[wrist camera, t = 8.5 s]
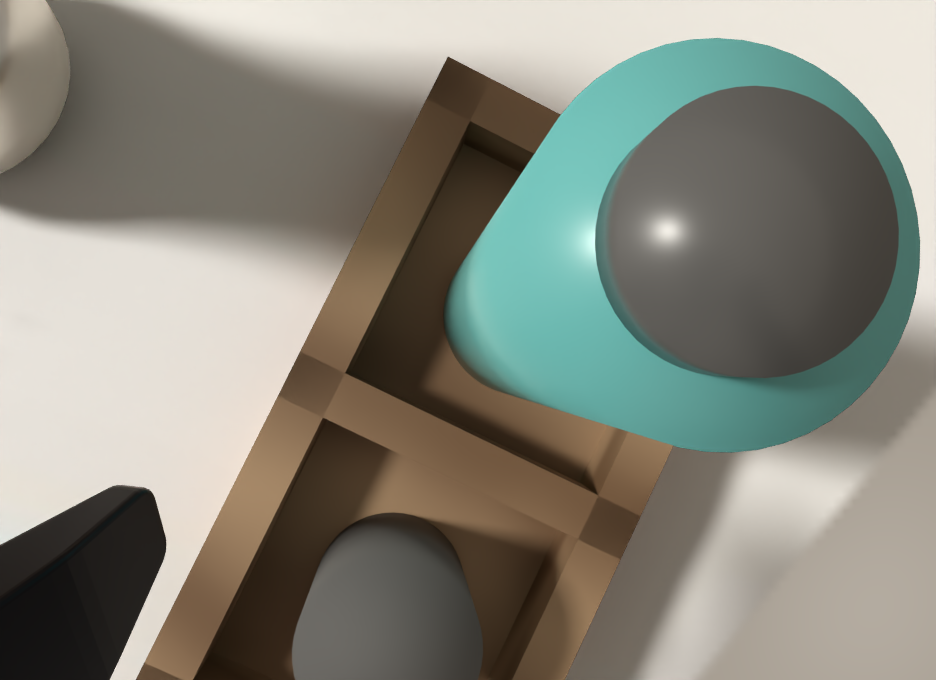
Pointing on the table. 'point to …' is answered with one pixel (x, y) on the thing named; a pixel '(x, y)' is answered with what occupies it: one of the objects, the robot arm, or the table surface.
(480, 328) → the teal rounded cylinder
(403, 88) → the table surface
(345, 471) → the tray
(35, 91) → the plastic bottle
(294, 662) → the dark gray rounded cylinder
